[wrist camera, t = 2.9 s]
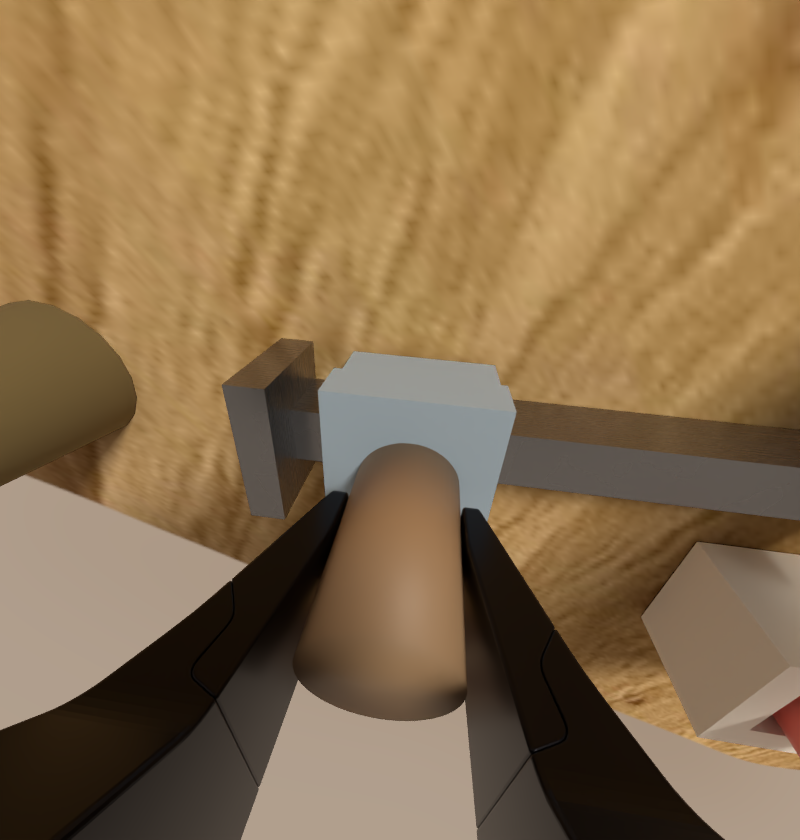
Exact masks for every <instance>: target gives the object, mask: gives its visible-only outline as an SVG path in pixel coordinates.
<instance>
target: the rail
mask: <svg viewBox="0 0 800 840" xmlns="http://www.w3.org/2000/svg"><path fill="white" fill-rule="evenodd" d="M324 381H325V380H322V379H316V378H315V364H314V350H313V342H312V341H302V340H292V339H282V338H281V339H280V340H279V341H277V342H276V343H275V344H273V345H272V346H271V347H270V348H268V349H267V350H266V351H264V352H263V353H262V354H261V355H259V356H258V357H257V358H255V359H254V360H253V361H252V362H250V363H249V364H248V365H246V366H245V367H244V368H243V369H241V370H240V371H239V372H237V373H236V374H235V375H234V376H232V377H231V378H230V379H228V380H227V381H226V382H224V383H223V384H222V388H223V393H224V397H225V401H226V406H227V410H228V415H229V419H230V423H231V428H232V432H233V437H234V441H235V445H236V450H237V454H238V459H239V463H240V467H241V472H242V476H243V480H244V485H245V489H246V494H247V498H248V502H249V507H250V511H251V515H255V516H263V517H270V518H277V519H285V518H286V516H287V514H288V513H289V511H290V509H291V507H292V505H293V503H294V501H295V499H296V497H297V496H298V494H299V492H300V490H301V488H302V486H303V484H304V482H305V480H306V478H307V477H308V475H309V473H310V471H311V469H312V467H313V465H314V463H315V461H321V462H323V457H322V443H321V428H320V414H319V400H318V390H319V388H320V387H321V385H322V384H323V383H324ZM513 403H514V406H515V409H516V412H517V413H516V416H515V420H514V424H513V427H512V431H511V435H510V439H509V442H508V446H507V450H506V453H505V457H504V461H503V465H502V468H501V472H500V476H499V479H498V483H499V484H507V485H516V486H524V487H532V488H540V489H548V490H556V491H564V492H572V493H581V494H589V495H597V496H605V497H613V498H621V499H629V500H637V501H645V502H654V503H662V504H670V505H678V506H686V507H694V508H702V509H710V510H719V511H727V512H735V513H743V514H751V515H759V516H767V517H775V518H783V519H792V520H800V430H792V429H782V428H773V427H764V426H754V425H745V424H735V423H726V422H717V421H707V420H698V419H688V418H679V417H670V416H660V415H651V414H641V413H632V412H623V411H613V410H604V409H594V408H585V407H576V406H566V405H557V404H547V403H538V402H529V401H519V400H513Z"/></svg>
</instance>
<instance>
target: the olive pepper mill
mask: <svg viewBox="0 0 800 840" xmlns="http://www.w3.org/2000/svg"><path fill="white" fill-rule="evenodd" d="M136 398H137V397H136V393H135V389H134V385H133V382H132V378H131V376H130V374H129V373H128V371H127V369H126V367H125V365H124V364H123V362H122V360H121V358H120V357H119V355H118V354H117V353H116V352H115V351H114V350H113V349H112V348H111V346H110V345H109V344H108V343H107V342H106V341H105V340H104V338H103V337H102V336H101V335H100V334H98V333H97V332H96V331H94V330H93V329H92V328H90V327H89V326H88V325H87V324H85V323H84V322H83V321H81V320H80V319H79V318H77V317H75V316H73V315H71V314H69V313H67V312H65V311H63V310H61V309H59V308H57V307H55V306H53V305H49V304H44V303H39V302H35V301H30V300H27V301H20V302H13V303H8V304H5V305H3V306H0V486H2V485H4V484H6V483H8V482H10V481H12V480H14V479H17V478H19V477H21V476H23V475H25V474H27V473H29V472H31V471H33V470H35V469H37V468H39V467H41V466H43V465H45V464H48V463H50V462H52V461H54V460H56V459H58V458H60V457H62V456H64V455H66V454H68V453H70V452H72V451H74V450H76V449H78V448H81V447H83V446H85V445H87V444H89V443H91V442H93V441H95V440H97V439H99V438H101V437H103V436H105V435H107V434H109V433H111V432H114V431H116V430H118V429H120V428H122V427H124V426H126V425H127V424H128V422H129V421H130V420H131V418H132V417H133V415H134V414H135V407H136Z"/></svg>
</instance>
